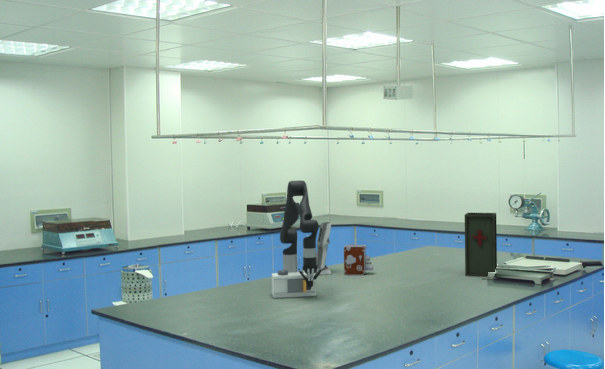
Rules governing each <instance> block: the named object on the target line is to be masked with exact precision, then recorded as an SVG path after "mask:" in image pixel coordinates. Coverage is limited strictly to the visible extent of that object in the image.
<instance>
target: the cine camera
mask: <svg viewBox="0 0 605 369" xmlns="http://www.w3.org/2000/svg"><path fill="white" fill-rule="evenodd" d="M367 246H368V245H367V244H345V245H343V273H344V275H347V276H364V275H365V274H366V271H374V265H372V261H371V256H370V255H369V254H368V255H366V250H367Z"/></svg>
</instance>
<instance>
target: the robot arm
mask: <svg viewBox="0 0 605 369" xmlns="http://www.w3.org/2000/svg"><path fill="white" fill-rule="evenodd" d="M286 188H287V191H286V201H285V202H286V203H285V207H284V211H283V212H284V213H283V219H282V220H283V221H282V224H281V225H282V226H281V230H280V233H279V241H280V243H281V244H285V245H286V244H287V245H288V244H290V246H288V247H287V248H284V249H282V270H288V273H292V272H299V273H300V274H301V275H302V276H303V278H304V279H305V280H308V286H309V287H312V286H313V280H315V279H316V280H317V279H318V278H319V276H320V275H319V274H320V273H321V270H320V269H318V267H317V237H318V236H317V235H318V232H319V229H320V227H319V222H318V221H317V220H316V219H313V212H312V210H311V207H310V201H309V193H308V184H307V183H306V181H305V180H290V181H288V183H287V187H286ZM294 197H302V198H301V200H300V202H299V204H297V203H296V201H295V199H294ZM298 220H299V231H300V233H304V234H310V235H309V236H308V235H307V236H306V237H303V239H302V247H303V248H302V269H301V270H298V231H297V230H296V229H295V228H291V227H292V226H294V224H296V223H297V221H298ZM316 270H317V271H316ZM304 272H305V273H306V274H307V277H305V275H304V274H303V273H304ZM315 272H317V273H316V274H315V276H314V273H315ZM313 276H314V277H313Z"/></svg>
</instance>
